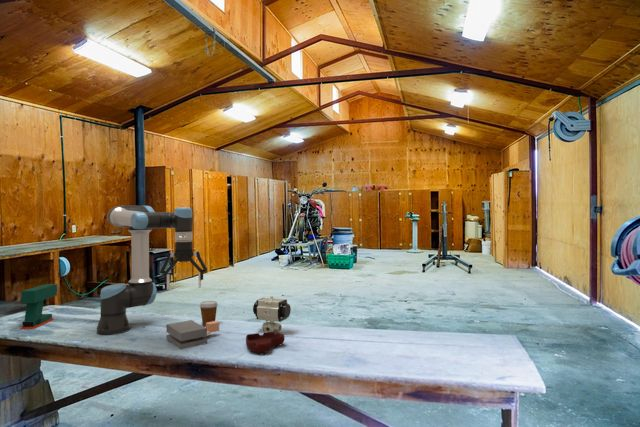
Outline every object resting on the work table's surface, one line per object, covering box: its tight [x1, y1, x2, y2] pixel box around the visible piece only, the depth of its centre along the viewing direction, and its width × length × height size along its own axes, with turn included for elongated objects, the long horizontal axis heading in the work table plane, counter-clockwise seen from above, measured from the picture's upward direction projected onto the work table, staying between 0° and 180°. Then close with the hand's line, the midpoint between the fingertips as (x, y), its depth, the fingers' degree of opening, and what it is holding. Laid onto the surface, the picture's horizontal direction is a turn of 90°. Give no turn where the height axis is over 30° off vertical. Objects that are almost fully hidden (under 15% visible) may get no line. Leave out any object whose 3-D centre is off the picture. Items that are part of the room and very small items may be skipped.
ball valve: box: [252, 295, 292, 334], centre depth 200 cm, size 18×8×18 cm, turn 67°
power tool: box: [20, 283, 60, 330], centre depth 225 cm, size 32×7×20 cm, turn 6°
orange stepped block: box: [205, 320, 220, 335], centre depth 191 cm, size 18×7×4 cm, turn 130°
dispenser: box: [165, 319, 210, 350], centre depth 187 cm, size 13×19×7 cm
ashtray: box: [245, 331, 285, 355], centre depth 176 cm, size 18×16×5 cm
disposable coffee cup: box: [199, 300, 219, 327], centre depth 214 cm, size 10×10×12 cm
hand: (184, 288), depth 180 cm, fingers open, 13 cm apart
